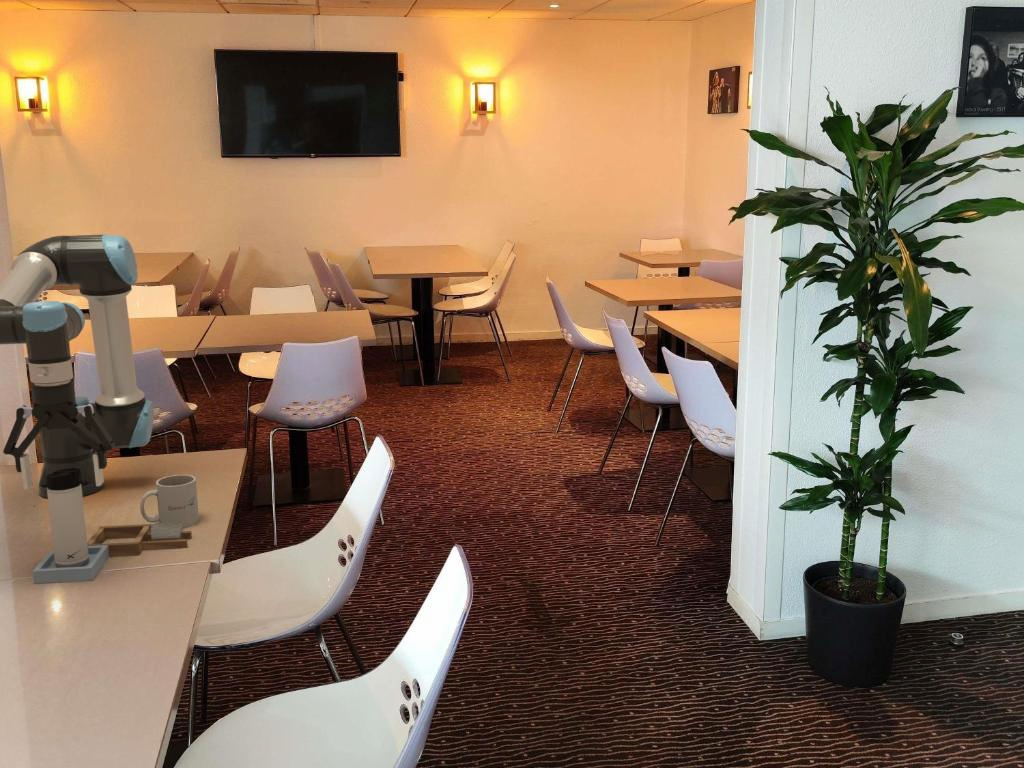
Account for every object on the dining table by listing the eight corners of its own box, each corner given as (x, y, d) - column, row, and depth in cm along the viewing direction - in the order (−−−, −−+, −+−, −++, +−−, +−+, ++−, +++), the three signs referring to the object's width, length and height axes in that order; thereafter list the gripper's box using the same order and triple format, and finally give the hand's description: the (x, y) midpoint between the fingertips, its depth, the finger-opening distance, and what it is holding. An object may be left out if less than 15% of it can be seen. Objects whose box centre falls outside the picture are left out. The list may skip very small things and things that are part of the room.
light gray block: (155, 541, 208) (153, 524, 207) (183, 540, 209) (182, 522, 208) (152, 546, 205) (150, 529, 204) (181, 545, 206) (179, 527, 205)
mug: (198, 513, 225) (195, 473, 223) (199, 526, 217) (195, 484, 215) (143, 519, 221) (139, 478, 219) (141, 532, 213) (137, 490, 211)
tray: (54, 559, 198) (52, 548, 198) (109, 556, 200) (108, 545, 199) (33, 583, 187) (32, 571, 186) (92, 580, 188) (91, 568, 188)
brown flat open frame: (101, 537, 211) (100, 526, 210) (194, 532, 213) (193, 521, 213) (85, 557, 199) (83, 546, 199) (183, 552, 202) (182, 541, 201)
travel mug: (78, 571, 189) (67, 475, 185) (48, 568, 191) (37, 473, 186) (97, 559, 195) (87, 465, 191) (68, 556, 197) (58, 464, 192)
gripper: (-24, 388, 180) (-10, 494, 185) (114, 384, 183) (124, 489, 188) (-9, 379, 187) (5, 482, 192) (124, 375, 190) (134, 476, 195)
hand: (64, 485), depth 190 cm, fingers open, 13 cm apart
